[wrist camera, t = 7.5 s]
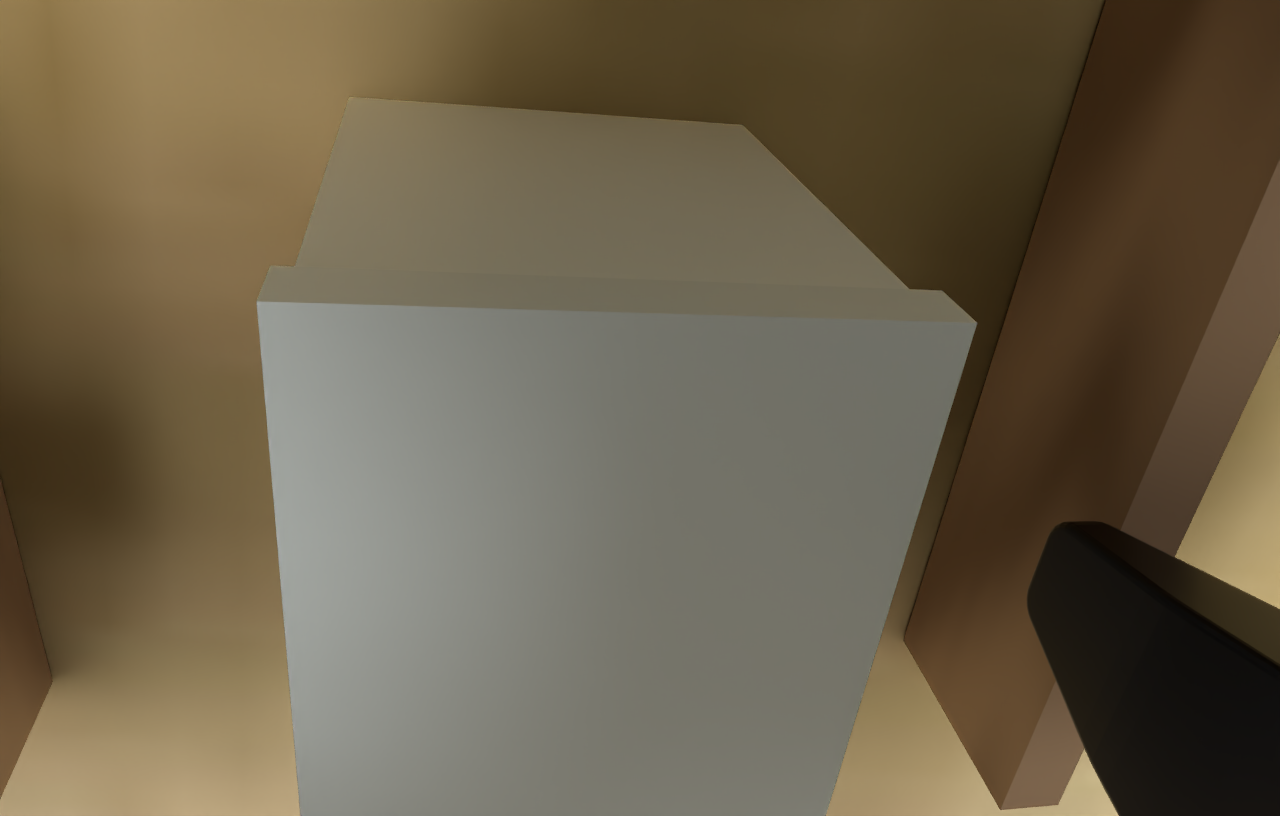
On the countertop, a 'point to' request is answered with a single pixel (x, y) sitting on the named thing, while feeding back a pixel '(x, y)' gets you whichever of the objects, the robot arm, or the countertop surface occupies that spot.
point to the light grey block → (586, 467)
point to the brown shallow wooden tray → (1055, 372)
